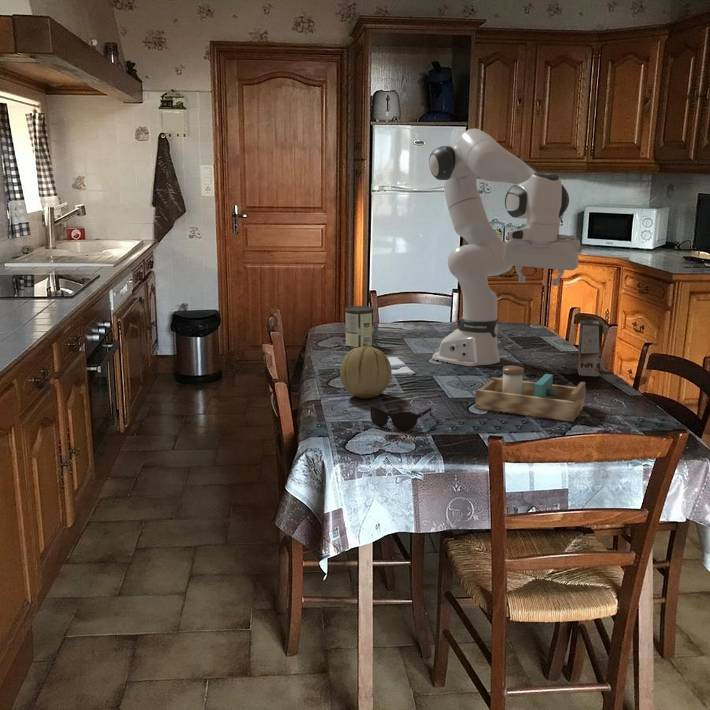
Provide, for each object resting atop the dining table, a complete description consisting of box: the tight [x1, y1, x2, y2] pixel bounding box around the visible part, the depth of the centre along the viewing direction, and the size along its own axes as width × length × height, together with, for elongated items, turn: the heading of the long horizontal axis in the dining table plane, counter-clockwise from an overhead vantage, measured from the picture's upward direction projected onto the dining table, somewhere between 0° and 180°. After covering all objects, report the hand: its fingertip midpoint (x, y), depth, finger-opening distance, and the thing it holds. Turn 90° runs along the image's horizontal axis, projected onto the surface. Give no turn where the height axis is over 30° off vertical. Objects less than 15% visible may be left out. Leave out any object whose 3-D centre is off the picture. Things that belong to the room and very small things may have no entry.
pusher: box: [534, 373, 559, 399], centre depth 209 cm, size 5×12×7 cm, turn 153°
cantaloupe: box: [339, 343, 393, 399], centre depth 220 cm, size 15×15×15 cm
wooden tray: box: [474, 376, 587, 422], centre depth 211 cm, size 26×15×7 cm, turn 63°
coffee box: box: [576, 319, 604, 377], centre depth 245 cm, size 9×6×16 cm
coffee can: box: [344, 305, 375, 347], centre depth 282 cm, size 10×10×14 cm
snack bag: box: [386, 356, 417, 374], centre depth 252 cm, size 19×20×2 cm
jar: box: [502, 365, 525, 395], centre depth 213 cm, size 6×6×9 cm
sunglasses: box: [370, 400, 432, 431], centre depth 202 cm, size 14×16×5 cm
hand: (538, 283), depth 217 cm, fingers open, 8 cm apart
